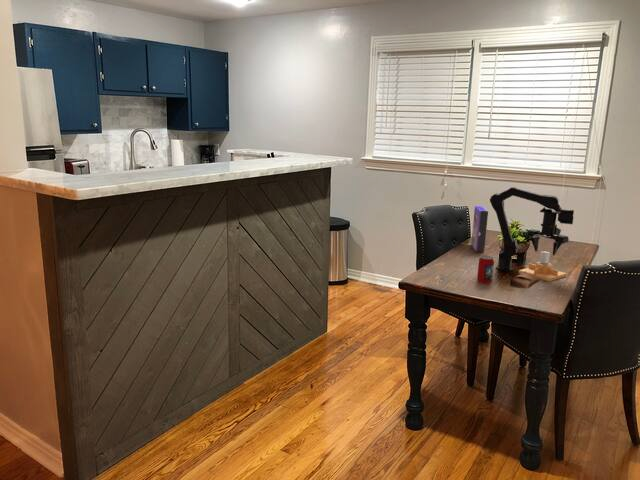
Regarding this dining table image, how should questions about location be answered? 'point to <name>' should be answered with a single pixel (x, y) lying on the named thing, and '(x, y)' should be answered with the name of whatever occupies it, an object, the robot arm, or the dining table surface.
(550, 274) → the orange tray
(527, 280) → the sunglasses case
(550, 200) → the robot arm
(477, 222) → the cereal box
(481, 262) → the beverage can
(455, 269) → the dining table surface
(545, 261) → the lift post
